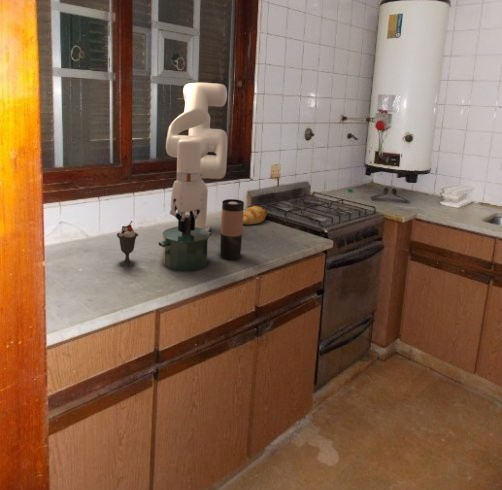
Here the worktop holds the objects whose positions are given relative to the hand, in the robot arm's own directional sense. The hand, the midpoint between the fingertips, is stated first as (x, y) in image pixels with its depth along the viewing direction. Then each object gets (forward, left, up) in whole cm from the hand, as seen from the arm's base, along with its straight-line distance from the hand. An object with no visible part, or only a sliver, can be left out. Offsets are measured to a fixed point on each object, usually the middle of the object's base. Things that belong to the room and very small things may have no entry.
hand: (186, 230), depth 146 cm
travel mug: (+5, +16, -11) cm, 20 cm away
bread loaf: (-21, +54, -11) cm, 59 cm away
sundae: (-10, -16, -11) cm, 22 cm away
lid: (0, 0, -2) cm, 2 cm away
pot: (0, 0, -11) cm, 11 cm away
